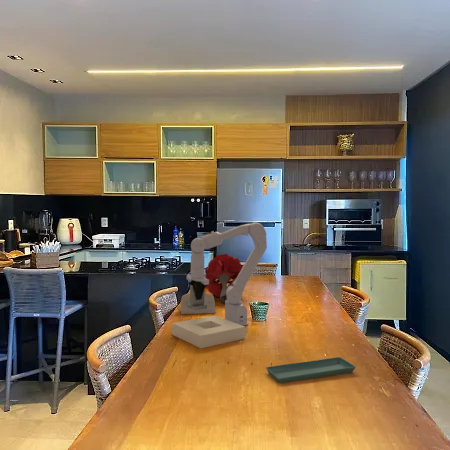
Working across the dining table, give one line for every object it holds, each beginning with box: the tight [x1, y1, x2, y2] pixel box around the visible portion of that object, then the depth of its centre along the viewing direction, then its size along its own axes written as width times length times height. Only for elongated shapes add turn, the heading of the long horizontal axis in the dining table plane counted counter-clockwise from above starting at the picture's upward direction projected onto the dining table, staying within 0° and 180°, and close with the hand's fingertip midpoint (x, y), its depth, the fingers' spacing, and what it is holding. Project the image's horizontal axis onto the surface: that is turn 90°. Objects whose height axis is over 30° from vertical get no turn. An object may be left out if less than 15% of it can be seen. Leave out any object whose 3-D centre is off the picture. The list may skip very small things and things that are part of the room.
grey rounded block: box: [179, 292, 217, 315], centre depth 211 cm, size 17×5×10 cm, turn 97°
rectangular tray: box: [265, 356, 357, 384], centre depth 137 cm, size 26×9×2 cm, turn 109°
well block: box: [171, 315, 246, 349], centre depth 172 cm, size 20×20×4 cm
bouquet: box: [204, 253, 244, 304], centre depth 240 cm, size 22×24×30 cm
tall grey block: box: [187, 284, 207, 310], centre depth 190 cm, size 6×6×10 cm
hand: (197, 299), depth 190 cm, fingers closed on tall grey block, 2 cm apart
